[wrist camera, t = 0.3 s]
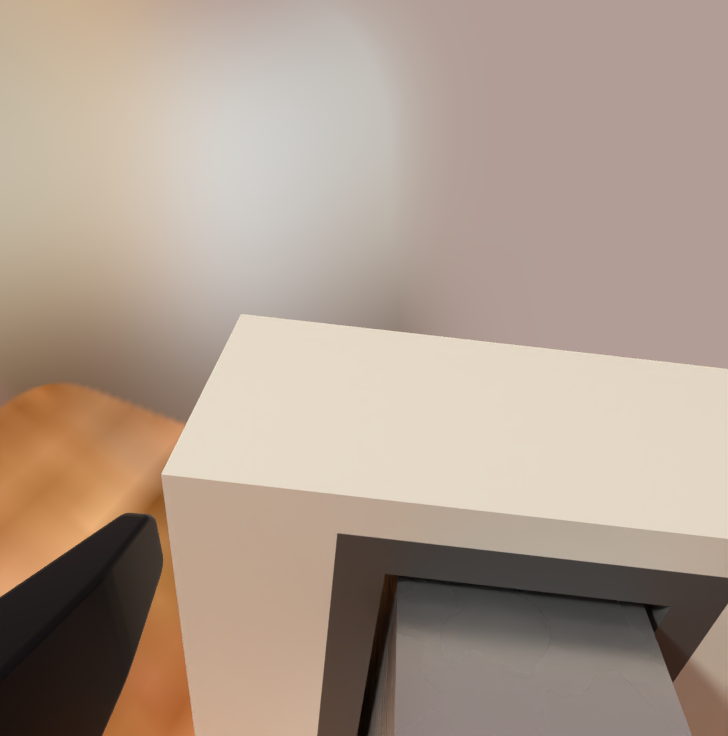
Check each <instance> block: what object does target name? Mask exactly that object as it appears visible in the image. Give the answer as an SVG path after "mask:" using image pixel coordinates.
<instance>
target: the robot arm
mask: <svg viewBox="0 0 728 736" xmlns="http://www.w3.org/2000/svg"><path fill="white" fill-rule="evenodd" d="M162 567H163V554H162V549H161V543H160V538H159V533H158V528H157V523H156V520H155V518H154V517H153V516H152V515H150V514H138V513H125V514H123V515H121V516H119V517H118V518H116V519H115V520H113V521H112V522H110V523H109V524H107V525H106V526H104V527H103V528H101V529H100V530H98V531H97V532H95V533H94V534H93V535H91V536H90V537H88V538H87V539H85V540H84V541H82V542H81V543H79V544H78V545H76V546H75V547H73V548H72V549H70V550H69V551H68V552H66V553H65V554H63V555H62V556H60V557H59V558H57V559H56V560H54V561H53V562H51V563H50V564H48V565H47V566H45V567H44V568H43V569H41V570H40V571H38V572H37V573H35V574H34V575H32V576H31V577H29V578H28V579H26V580H25V581H23V582H22V583H20V584H19V585H17V586H16V587H15V588H13V589H12V590H10V591H9V592H7V593H6V594H4V595H3V596H1V597H0V736H102V735H103V732H104V730H105V728H106V726H107V723H108V721H109V719H110V717H111V714H112V712H113V710H114V707H115V705H116V703H117V701H118V698H119V696H120V694H121V691H122V689H123V687H124V684H125V682H126V679H127V677H128V674H129V671H130V668H131V666H132V663H133V660H134V657H135V654H136V651H137V647H138V644H139V641H140V638H141V635H142V632H143V629H144V626H145V622H146V619H147V616H148V613H149V610H150V607H151V604H152V601H153V597H154V594H155V591H156V588H157V585H158V582H159V579H160V576H161V572H162Z"/></svg>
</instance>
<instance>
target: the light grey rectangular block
mask: <svg viewBox="0 0 728 736" xmlns="http://www.w3.org/2000/svg"><path fill="white" fill-rule="evenodd" d="M357 736H692V734H691V732H690V729H689V726H688V723H687V721H686V718H685V715H684V713H683V710H682V707H681V704H680V702H679V699H678V696H677V694H676V691H675V688H674V686H673V683H672V680H671V677H670V675H669V672H668V669H667V667H666V664H665V661H664V659H663V656H662V653H661V650H660V648H659V645H658V642H657V640H656V637H655V634H654V631H653V629H652V626H651V623H650V621H649V618H648V615H647V613H646V610H645V607H644V604H643V603H636V602H628V601H619V600H610V599H601V598H593V597H584V596H575V595H566V594H558V593H549V592H540V591H531V590H523V589H514V588H505V587H496V586H488V585H479V584H470V583H461V582H453V581H444V580H435V579H426V578H418V577H409V576H400V575H391V574H385V575H384V581H383V587H382V593H381V599H380V604H379V610H378V616H377V622H376V627H375V633H374V639H373V645H372V650H371V656H370V662H369V668H368V674H367V679H366V685H365V691H364V697H363V702H362V708H361V714H360V720H359V726H358V731H357Z"/></svg>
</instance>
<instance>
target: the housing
mask: <svg viewBox="0 0 728 736" xmlns="http://www.w3.org/2000/svg"><path fill="white" fill-rule="evenodd" d="M161 476H162V484H163V492H164V499H165V507H166V515H167V523H168V530H169V538H170V546H171V553H172V561H173V569H174V577H175V584H176V592H177V600H178V608H179V615H180V623H181V631H182V639H183V646H184V654H185V662H186V669H187V677H188V685H189V693H190V700H191V708H192V716H193V724H194V731H195V736H357V731H358V726H359V720H360V714H361V708H362V702H363V697H364V691H365V685H366V679H367V674H368V668H369V662H370V656H371V650H372V645H373V639H374V633H375V627H376V622H377V616H378V610H379V604H380V599H381V593H382V587H383V581H384V575H385V574H391V575H400V576H409V577H418V578H426V579H435V580H444V581H453V582H461V583H470V584H479V585H488V586H496V587H505V588H514V589H523V590H531V591H540V592H549V593H558V594H566V595H575V596H584V597H593V598H601V599H610V600H619V601H628V602H636V603H643V604H644V607H645V610H646V613H647V615H648V618H649V621H650V623H651V626H652V629H653V631H654V634H655V637H656V640H657V642H658V645H659V648H660V650H661V653H662V656H663V659H664V661H665V664H666V667H667V669H668V672H669V675H670V677H671V680H672V683H673V686H674V688H675V691H676V694H677V696H678V699H679V702H680V704H681V707H682V710H683V713H684V715H685V718H686V721H687V723H688V726H689V729H690V732H691V734H692V736H728V369H724V368H714V367H706V366H697V365H688V364H679V363H670V362H662V361H653V360H644V359H634V358H626V357H616V356H608V355H599V354H590V353H582V352H573V351H564V350H555V349H546V348H538V347H528V346H520V345H510V344H502V343H493V342H484V341H475V340H467V339H458V338H449V337H440V336H431V335H422V334H413V333H404V332H395V331H387V330H378V329H369V328H360V327H351V326H342V325H333V324H324V323H316V322H307V321H298V320H289V319H280V318H272V317H263V316H254V315H245V314H241V316H240V318H239V320H238V322H237V324H236V326H235V328H234V330H233V332H232V334H231V336H230V338H229V340H228V342H227V344H226V346H225V348H224V350H223V352H222V354H221V356H220V358H219V360H218V362H217V364H216V366H215V368H214V370H213V372H212V374H211V376H210V378H209V380H208V382H207V384H206V386H205V388H204V390H203V392H202V394H201V396H200V398H199V400H198V402H197V404H196V406H195V408H194V410H193V412H192V414H191V416H190V418H189V420H188V422H187V424H186V426H185V428H184V430H183V432H182V434H181V436H180V438H179V440H178V442H177V444H176V446H175V448H174V450H173V452H172V454H171V456H170V458H169V460H168V462H167V464H166V466H165V468H164V470H163V472H162V474H161Z"/></svg>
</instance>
